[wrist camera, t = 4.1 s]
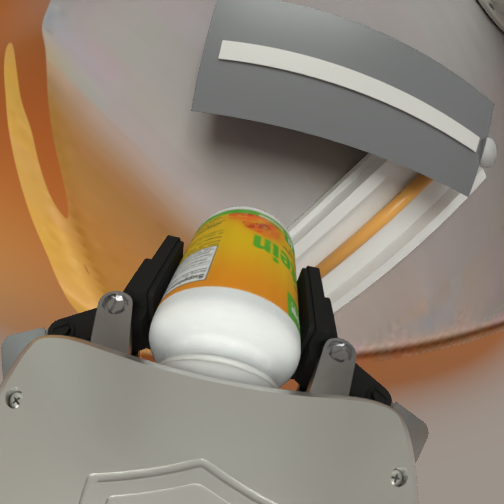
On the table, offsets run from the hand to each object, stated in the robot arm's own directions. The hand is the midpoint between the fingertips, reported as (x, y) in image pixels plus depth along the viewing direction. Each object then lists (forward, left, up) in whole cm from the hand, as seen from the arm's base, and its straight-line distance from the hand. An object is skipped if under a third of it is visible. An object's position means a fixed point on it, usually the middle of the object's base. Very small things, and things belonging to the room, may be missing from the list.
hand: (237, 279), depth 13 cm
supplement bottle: (0, 0, -3) cm, 3 cm away
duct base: (-7, +8, -11) cm, 16 cm away
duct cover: (-12, 0, -8) cm, 15 cm away
